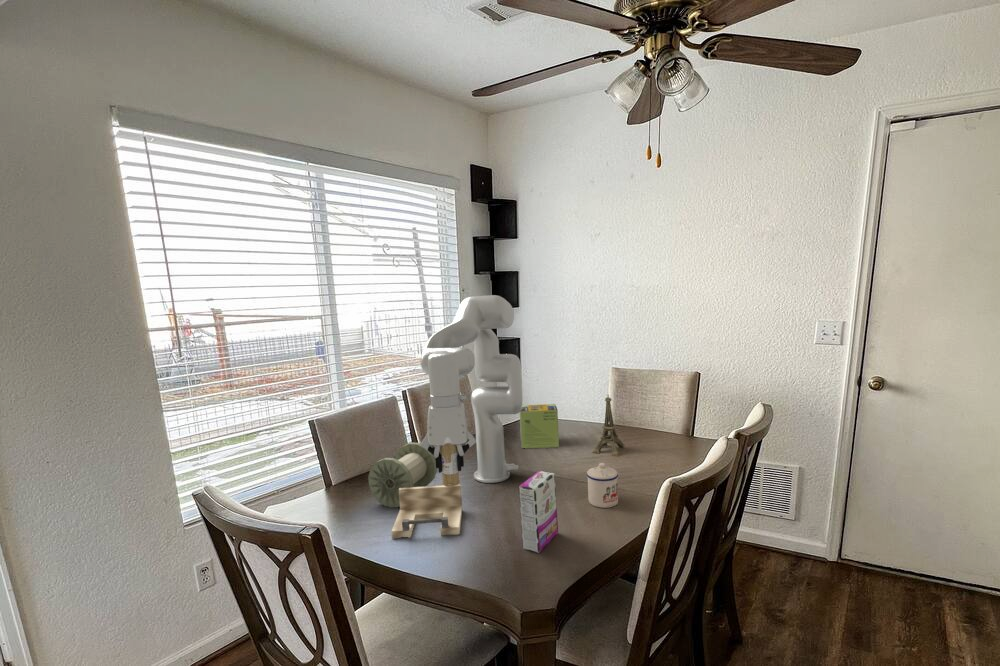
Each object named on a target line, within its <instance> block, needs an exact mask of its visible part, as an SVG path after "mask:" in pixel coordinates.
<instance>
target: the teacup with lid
mask: <svg viewBox="0 0 1000 666" xmlns="http://www.w3.org/2000/svg"><path fill="white" fill-rule="evenodd" d="M586 476H587V494H588V495H587V497H588V498H587V499H588V503H589V504H590V505H592V506H593V507H596V508H601V509H609V508H612V507H615V506H616V505H618V503H619V488H618V485H619V474H618V472H617V469H614V468H612V467H609V466H607V465H606V463H604V462H599V463H598V465H597V466H595V467H591V468H589V469H588V470H587V471H586Z"/></svg>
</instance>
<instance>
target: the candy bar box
mask: <svg viewBox="0 0 1000 666" xmlns="http://www.w3.org/2000/svg"><path fill="white" fill-rule="evenodd" d="M556 488H557V487H556V473H554V472H549V471H543V470H538V471H537V472H536V473H534V474H533V475H532V476H530V477H529V478H528V479H527V480H525V481H524V482H523V483H521V484H520V485H519V486H518V493H519V494H518V495H519V509H520V520H521V521H520V522H521V524H520V525H521V536H522V540H521V541H522V549H523V550H526V551H530V552H534V553H537V554H539V553H541V552H542V551H543V550H544V549H545V548H546V547H547V546H548V544H549V543H551V541H552V540H553V539H554V538H555V537H556V536H557V535H558V534H559V525H558V524H559V523H558V507H557V492H556V491H557V490H556Z"/></svg>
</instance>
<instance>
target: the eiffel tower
mask: <svg viewBox="0 0 1000 666" xmlns="http://www.w3.org/2000/svg"><path fill="white" fill-rule="evenodd" d="M604 402H606V403H605V416H604V425H602V429H603V431H602V435H601V437H600V440H599V442H598V443H597V445H596V446H595V448H594V450H593V451H592V452H591V454H597V455H600V454H601V453H602V449H603V448H606V449H607V448H608V447H609V445H611V451H612V453H611V456H612V457H615V458H616V457H618V458H619V457H620V456H621V455H622V454H621V453H620V451H626V450H628V447H626V446H625V444H624V443H623V442H622V440H621V439H620V438H619V435H617V432H616V427H617V426H616V424H614V419H613V418H614V417H613V412H612V404H611V402H612V397H609V395H607V397H605V399H604ZM617 447H618V448H617Z"/></svg>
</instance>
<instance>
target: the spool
mask: <svg viewBox="0 0 1000 666" xmlns="http://www.w3.org/2000/svg"><path fill="white" fill-rule="evenodd" d="M369 470H370V471H369V473H368V477H367V479H368V480H367V481H368V487H369V489H370V492H371V494H372V496H373V497H374V499H376V501H377V502H378V503H380V504H382V505H383V506H385V507H386V506H389V507H388V508H393V507H396V508H398V507H399V508H400V501H399V488H409V487H425V486H430V484H431V483H432V482H433V481H434V480H435V478H436V475H437V473H438V472H437V471H438V468H436V460H435V457H434V455H432V454H431V453H430V452H429V451H428V450H427V449H425V448H423V447H421V442H410V443H406V444H404V445H402V446H401V448H400V449H398V450H397V452H396V456H395V458H393V457H385V458H382V459H380V460H377V461H376V462H375V463H374V464H373V465H372V467H370V469H369ZM396 508H395V509H396Z"/></svg>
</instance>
